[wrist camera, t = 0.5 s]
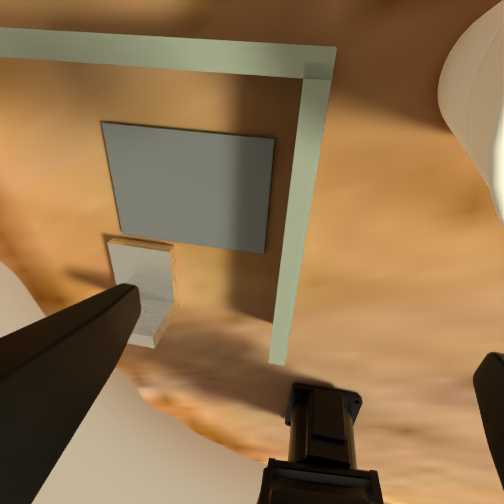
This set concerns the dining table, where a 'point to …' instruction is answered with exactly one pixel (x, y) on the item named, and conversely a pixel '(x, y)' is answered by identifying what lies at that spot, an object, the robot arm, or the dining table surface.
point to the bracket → (147, 284)
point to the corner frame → (222, 61)
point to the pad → (191, 185)
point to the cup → (478, 98)
